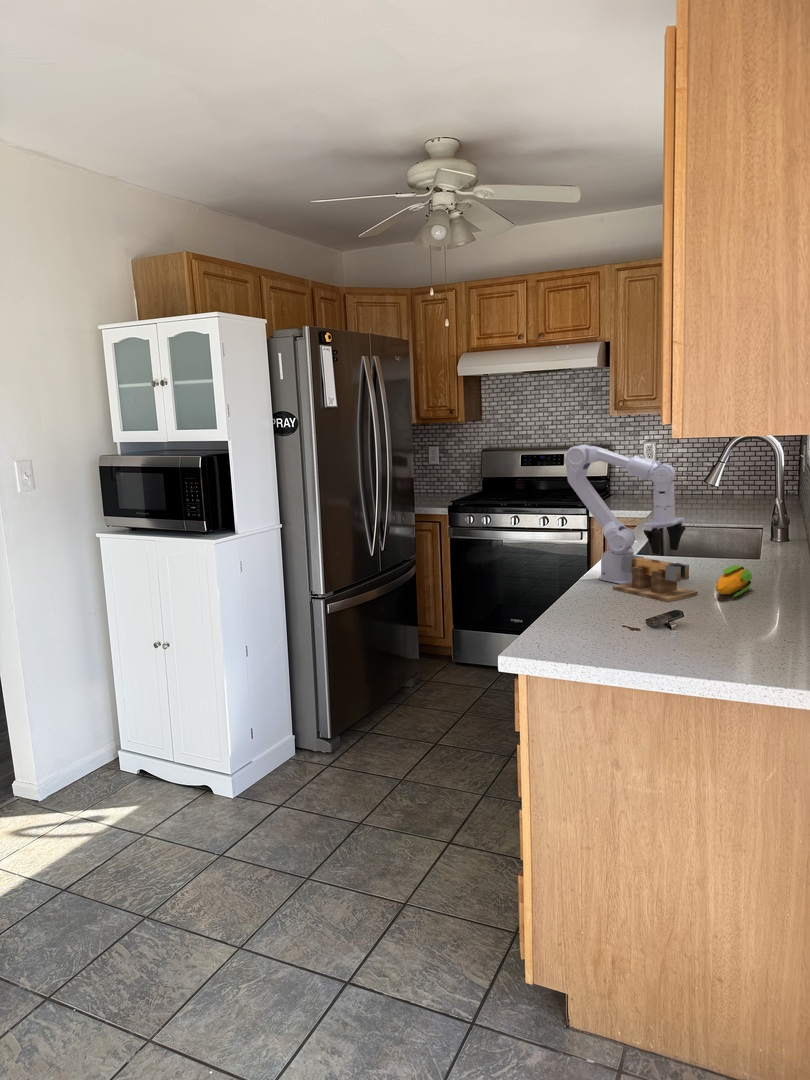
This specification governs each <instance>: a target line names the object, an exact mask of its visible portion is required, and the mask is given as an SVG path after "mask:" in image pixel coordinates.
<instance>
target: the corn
mask: <svg viewBox="0 0 810 1080" xmlns="http://www.w3.org/2000/svg"><path fill="white" fill-rule="evenodd" d="M722 572H723V574H722V575H721V576H720V577H719V579H717V580H716V581H717V582H716V585H715V591H716V592H718V593H719V594H720V595H722V596H726V595H732V594H733V596H732V598H736V597H738V596H740V595H742V594H744V593H745V592H746V591H748V590H749V589H750V586H751V584H752V582H751V580H752V579H753V576H752V572H751V571H750V570H749V569H748V568H746V569H745V567H744V566H741V565H731V566H729V567H726V568H725V569H724V570H723V571H722ZM739 590H740V591H739ZM734 593H735V594H734Z"/></svg>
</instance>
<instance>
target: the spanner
mask: <svg viewBox="0 0 810 1080" xmlns="http://www.w3.org/2000/svg"><path fill="white" fill-rule="evenodd" d="M632 567H640V568H643V574H644V575H649V576H651V571H653V570H656V571H661V572H663V578H665V580H669V581H674V582H677V583H679V582H681V580H684V581H686V580H689V579H690V565H689V564H686V563H681V562H675V563H674V562H671V561H669V562H668V561H664V560H659V559H651V558H646V557H644V556H639V555H635V554H634V555H632V556H630V557H622V558H621V571H624V572H629V573H632Z"/></svg>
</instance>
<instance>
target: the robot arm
mask: <svg viewBox="0 0 810 1080" xmlns="http://www.w3.org/2000/svg"><path fill="white" fill-rule="evenodd" d="M563 462H564V464H565V468H566V477H567V483H568V484H569V485H570V487H571V488H572V489H573V491H574V492H575V493H576V495H577V496H578V498H579V500H581V502H582V503H583V504H584V506H585V507H586V509H587V510H588V511H589V513H590V515H592V517H593V518H594V519H595V521H596V522H597V523H598V525H599V526H600V528H601V529H602V533H603V537H604V539H606V542H607V543H606V544H607V547H608V550H606V551H604V552H603V553H602V555H601V559H600V570H601V571H600V572H601V573H600V577H599V578H598V579H599V580H600V581H604V582H610V583H615V584H617V585H620V584H624V583H629V582H632V573H629V572H624V571H621V558H622V557H630V556H632V555H635V554H634V553H635V550H634V549H633V547H632V546H633V545H634V544H635V541H636V534H635V532H633V530H632V529H630V528H628V527H626V526H625V524H624V523H623V522H621V521H620V520H618V519H617V518H616V516H615V514H614V513H613V512H612V511H611V509H610V508H609V507H608V505H607V504H606V503H605V501H604V500H603V498H602V497H601V496H600V494H599V493H598V492H597V490H596V489H595V488H594V486H593V485H592V484H591V482H590V481H589V479H588V478H587V475H588V470H589V467H590V466H591V465H592V464H593V463H597V462H602V463H606V464H609V465H612V466H613V465H614V466H616V467H620V468H623V469H626V470H627V472H628V474H629V475H631V476H634V477H637V478H640V479H643V480H647V481H652V483H653V512H654V513H653V521H649V522H646V523H644V526H643V527H644V529H643V533H644V535H645V537H646V538H647V540H648V543H649V546H650V549H651V552H652V555H653V554H654V555H660V552H661V541H662V540H661V539H662V536H663V535H664V531H663V530H659V529H663V528H666V531H667V534H668V540H669V549H670V550H672V551H678V549H679V546H680V542H681V538H682V536H683V534H684V532H685V530H686V525H685V517H676V516H675V514H676V513H675V512H676V511H675V509H676V508H675V503H676V502H675V499H676V498H675V484H674V483H675V482H674V479H675V478H676V473H677V472H676V470H675V468H674V467H673V466H672V465H671V464H669V463H666V462H665V463H661V461H660V460H655V461H654V460H652V459H650V458H649V459H648V458H645V455H642V454H640V455H634V456H632V457H628V456H625V455H623V454H622V455H621V454H620V453H616V452H614V451H612V450H608V449H606V448H602V447H600V446H595V445H589V444H580V445H574V446H571V447H570V448H568V450H567V451H566V453H565V456H564V460H563Z"/></svg>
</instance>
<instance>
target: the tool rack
mask: <svg viewBox="0 0 810 1080" xmlns="http://www.w3.org/2000/svg"><path fill="white" fill-rule="evenodd" d="M613 590H614V591H618V592H621V593H622V592H623V593H626V594H631V595H635V596H640V597H644V598H649V599H653V600H657V601H661V602H665V603H671V602H675V601H679V600H683V599H688V598H692V597H695V596H698V595H699V591H698V590H697V591H696V590H694V589H693V590H692V589H687V588H683V587H678V582H674V581H669V580H665V578H663V572H661V571H656V570H653V571H651V576H649V575H644V574H643V568H640V567H632V582H629V583H624V584H615V585H613V586H612V591H613Z"/></svg>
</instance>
